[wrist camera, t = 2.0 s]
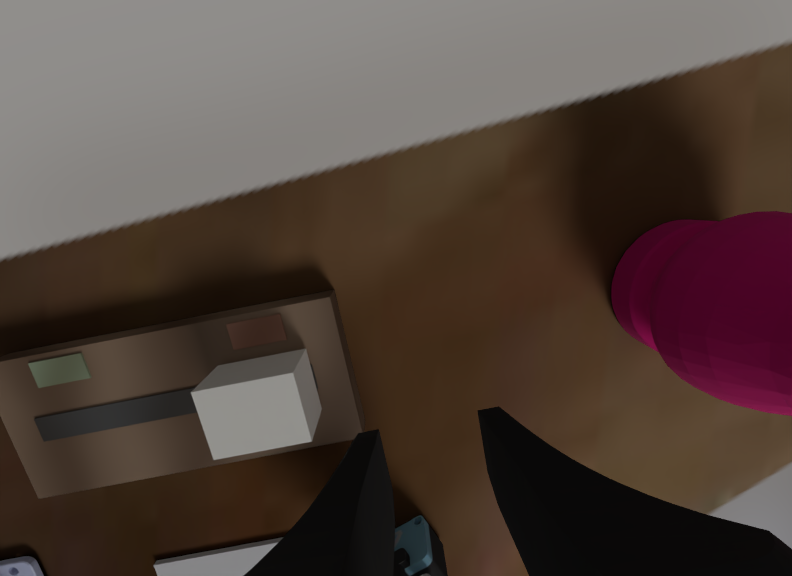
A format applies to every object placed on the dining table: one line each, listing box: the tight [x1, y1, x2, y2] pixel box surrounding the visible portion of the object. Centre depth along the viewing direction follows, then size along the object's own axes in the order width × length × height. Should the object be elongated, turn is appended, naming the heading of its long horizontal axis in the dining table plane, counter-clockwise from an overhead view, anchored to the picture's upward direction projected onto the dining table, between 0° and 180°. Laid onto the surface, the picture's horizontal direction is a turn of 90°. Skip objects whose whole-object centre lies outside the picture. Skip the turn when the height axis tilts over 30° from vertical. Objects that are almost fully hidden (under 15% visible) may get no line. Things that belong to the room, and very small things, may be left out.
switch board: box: [0, 289, 365, 499], centre depth 19 cm, size 16×7×2 cm, turn 101°
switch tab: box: [191, 349, 322, 460], centre depth 17 cm, size 4×3×2 cm
